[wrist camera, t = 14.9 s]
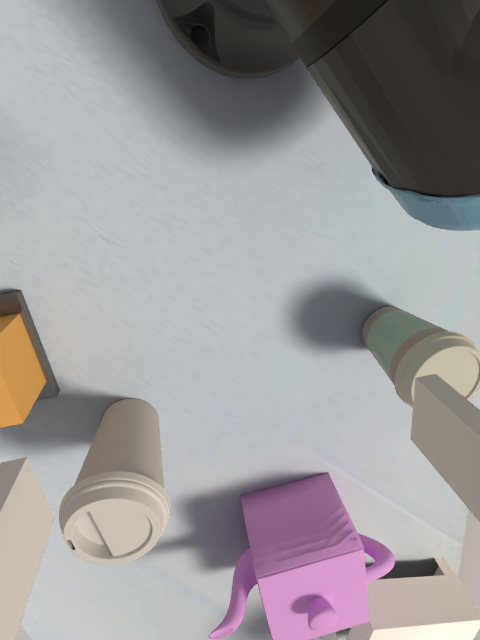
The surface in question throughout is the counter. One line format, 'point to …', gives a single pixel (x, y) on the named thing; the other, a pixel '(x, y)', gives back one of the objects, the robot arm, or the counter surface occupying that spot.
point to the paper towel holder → (418, 609)
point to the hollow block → (17, 372)
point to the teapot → (304, 562)
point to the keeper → (15, 305)
